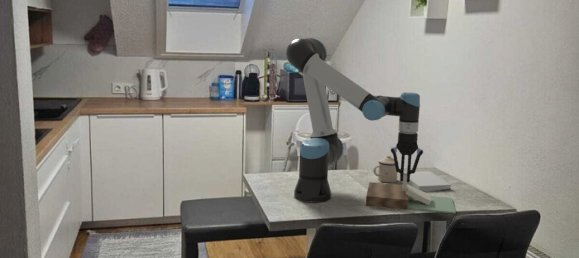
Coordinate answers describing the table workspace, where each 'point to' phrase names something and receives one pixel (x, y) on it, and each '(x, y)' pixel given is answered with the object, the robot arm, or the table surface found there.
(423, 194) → the ceramic tile
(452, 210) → the rubber mat
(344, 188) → the table surface
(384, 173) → the teacup with lid
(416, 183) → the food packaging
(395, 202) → the walnut board
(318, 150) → the robot arm
